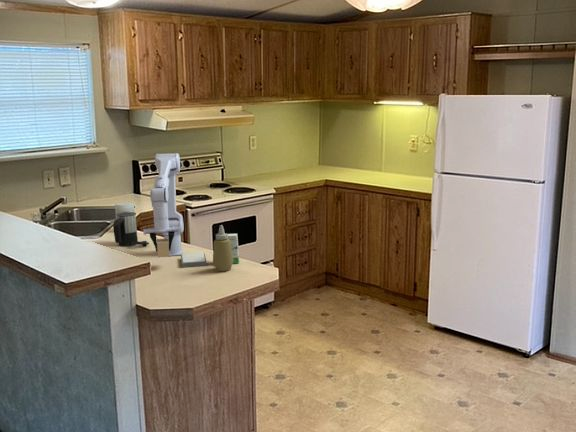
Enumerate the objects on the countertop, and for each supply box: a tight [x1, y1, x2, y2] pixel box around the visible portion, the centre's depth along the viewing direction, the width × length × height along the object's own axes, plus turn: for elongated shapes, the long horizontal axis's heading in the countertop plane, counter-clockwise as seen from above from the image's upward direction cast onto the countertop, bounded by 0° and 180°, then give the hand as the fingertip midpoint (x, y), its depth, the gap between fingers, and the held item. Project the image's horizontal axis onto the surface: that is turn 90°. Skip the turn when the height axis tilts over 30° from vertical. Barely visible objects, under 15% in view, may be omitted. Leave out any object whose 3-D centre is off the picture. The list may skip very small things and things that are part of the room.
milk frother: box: [112, 211, 150, 247], centre depth 293 cm, size 14×16×15 cm
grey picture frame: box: [180, 252, 208, 269], centre depth 261 cm, size 14×10×2 cm
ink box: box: [227, 233, 240, 265], centre depth 258 cm, size 9×5×12 cm, turn 92°
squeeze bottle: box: [212, 224, 233, 272], centre depth 248 cm, size 8×8×18 cm
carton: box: [156, 237, 170, 258], centre depth 254 cm, size 7×4×6 cm, turn 11°
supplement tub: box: [114, 201, 135, 220], centre depth 324 cm, size 10×10×15 cm
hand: (163, 250), depth 254 cm, fingers closed on carton, 4 cm apart
